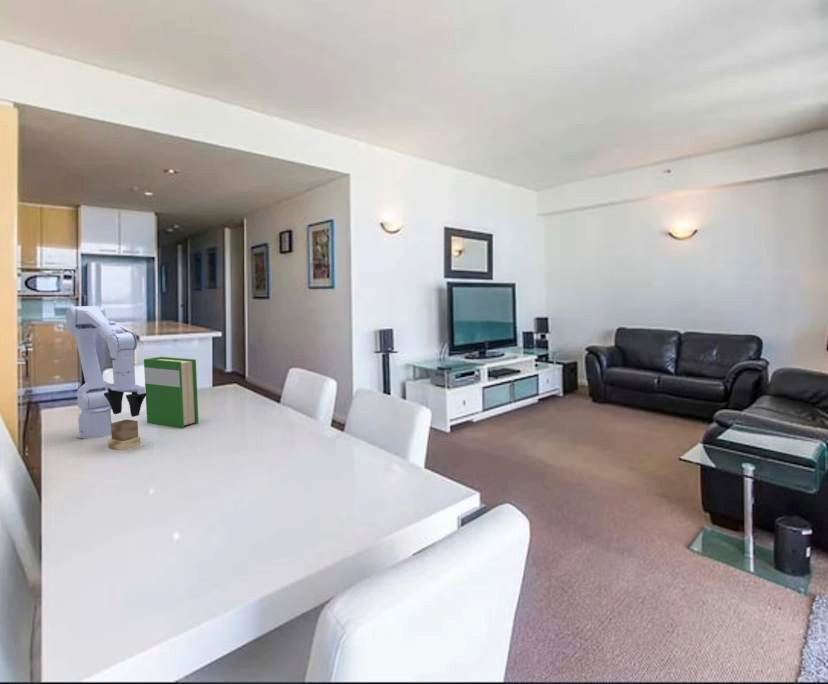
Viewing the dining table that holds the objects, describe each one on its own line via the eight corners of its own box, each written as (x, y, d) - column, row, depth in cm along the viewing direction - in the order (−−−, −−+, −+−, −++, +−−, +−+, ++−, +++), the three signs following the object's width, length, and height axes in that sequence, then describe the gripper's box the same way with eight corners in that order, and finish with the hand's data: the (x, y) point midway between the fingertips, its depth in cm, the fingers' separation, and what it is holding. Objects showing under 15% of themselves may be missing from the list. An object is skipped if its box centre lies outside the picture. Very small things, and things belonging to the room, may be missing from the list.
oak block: (108, 448, 146) (108, 440, 146) (126, 443, 151) (125, 434, 151) (123, 451, 144) (122, 442, 144) (140, 445, 149) (140, 436, 149)
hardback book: (198, 423, 177) (195, 359, 175) (181, 428, 170) (178, 362, 168) (164, 418, 184) (161, 356, 182) (147, 423, 177) (143, 359, 175)
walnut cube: (111, 439, 146) (110, 423, 146) (126, 434, 151) (125, 419, 150) (123, 441, 144) (122, 425, 144) (138, 436, 149) (137, 420, 149)
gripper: (94, 372, 146) (97, 415, 148) (129, 375, 141) (131, 420, 143) (116, 368, 153) (118, 410, 154) (150, 371, 148) (152, 414, 149)
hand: (126, 414), depth 149 cm, fingers open, 7 cm apart
